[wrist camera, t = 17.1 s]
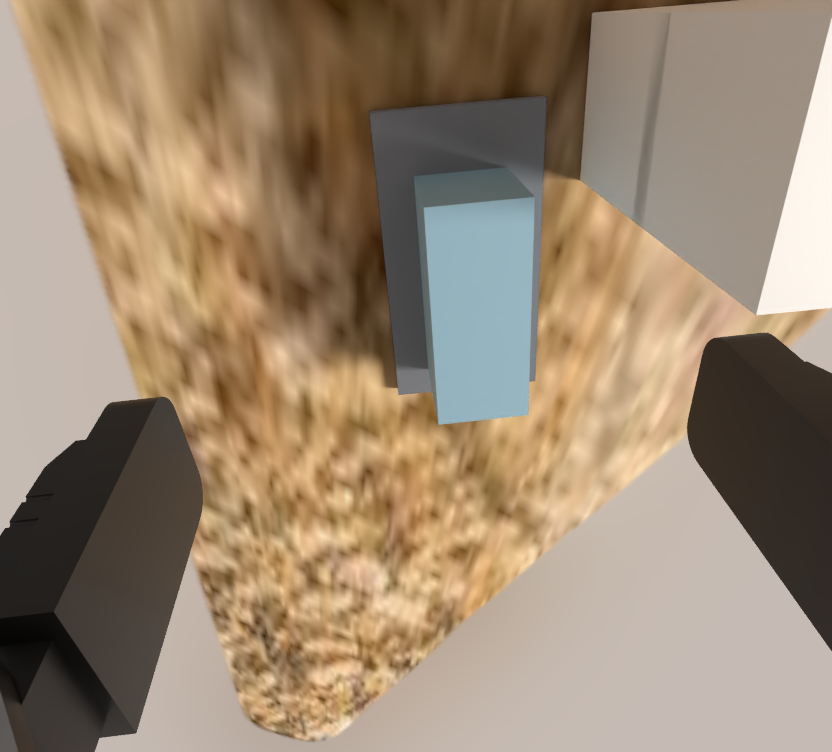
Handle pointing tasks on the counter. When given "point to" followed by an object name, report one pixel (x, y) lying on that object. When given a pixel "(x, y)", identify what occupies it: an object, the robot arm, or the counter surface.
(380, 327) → the counter surface
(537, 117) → the mat
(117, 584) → the robot arm
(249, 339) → the counter surface
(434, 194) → the block
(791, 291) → the white box
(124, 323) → the counter surface
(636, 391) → the counter surface
